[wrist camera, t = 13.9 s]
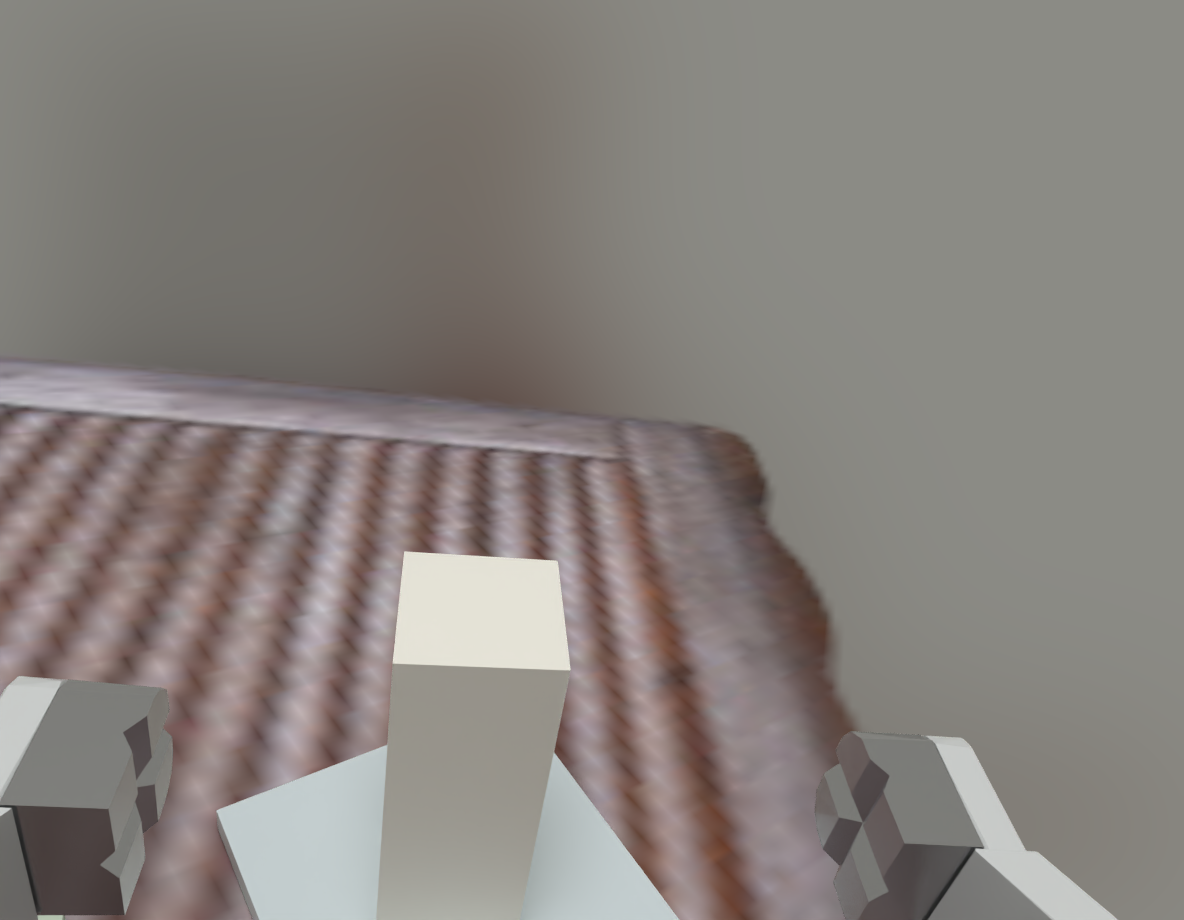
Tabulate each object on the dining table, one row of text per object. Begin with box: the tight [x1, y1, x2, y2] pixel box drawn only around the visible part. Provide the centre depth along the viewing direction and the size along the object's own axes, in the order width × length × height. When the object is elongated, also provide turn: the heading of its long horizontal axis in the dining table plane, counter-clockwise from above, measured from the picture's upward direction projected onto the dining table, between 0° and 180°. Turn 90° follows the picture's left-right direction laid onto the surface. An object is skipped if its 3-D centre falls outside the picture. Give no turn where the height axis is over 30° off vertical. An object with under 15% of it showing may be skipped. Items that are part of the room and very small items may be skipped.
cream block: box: [376, 552, 571, 920], centre depth 28 cm, size 4×4×12 cm
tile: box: [216, 745, 679, 920], centre depth 32 cm, size 12×12×1 cm
